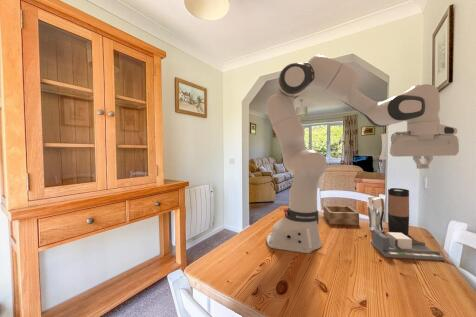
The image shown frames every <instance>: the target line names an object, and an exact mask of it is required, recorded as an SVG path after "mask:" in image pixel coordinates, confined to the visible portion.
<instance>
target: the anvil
mask: <svg viewBox="0 0 476 317" xmlns="http://www.w3.org/2000/svg"><path fill="white" fill-rule="evenodd" d="M372 240H373V242H374V244H375V245H376V246H378V247H379V248H380V249H381V250H382V248H383V250H382V251H383V252H389V238H388V237H387V235H386V234H385V233H383V232H380V231H379V230H373V231H372Z"/></svg>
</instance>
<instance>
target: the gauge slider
mask: <svg viewBox="0 0 476 317" xmlns="http://www.w3.org/2000/svg"><path fill="white" fill-rule="evenodd" d="M386 236H387V237H388V238H389V245H390V246H391V247H393V248H398V249H399V250H401V249H412V242H413V239H412V238H411V237H409V236H406V235H404V234H403V233H394V232H389V231H388V232H386Z"/></svg>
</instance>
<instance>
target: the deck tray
mask: <svg viewBox="0 0 476 317" xmlns="http://www.w3.org/2000/svg"><path fill="white" fill-rule="evenodd" d="M322 207H323V210H322V211H323V213H322V214H323V215H324V217H323V218H325V219H326V221H327V220H328V221H327V222H328V223H329V224H330V225H350V226H351V225H354V226H359V225H360V213H359V212H358V211H356V210H355V209H354V208H352V207H351V206H350V205H322Z"/></svg>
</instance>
